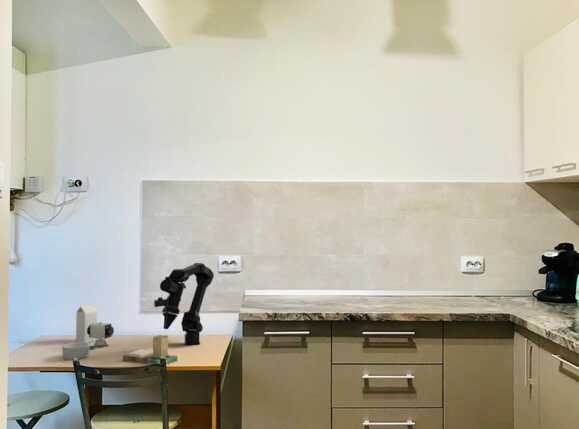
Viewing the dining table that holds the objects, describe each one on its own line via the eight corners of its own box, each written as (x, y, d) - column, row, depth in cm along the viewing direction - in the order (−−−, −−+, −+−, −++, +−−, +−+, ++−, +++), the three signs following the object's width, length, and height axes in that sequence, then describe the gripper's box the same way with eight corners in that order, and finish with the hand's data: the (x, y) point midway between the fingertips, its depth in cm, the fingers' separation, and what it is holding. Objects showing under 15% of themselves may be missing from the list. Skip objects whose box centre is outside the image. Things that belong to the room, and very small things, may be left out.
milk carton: (97, 340, 248) (97, 303, 248) (84, 343, 242) (85, 305, 242) (88, 339, 251) (88, 302, 252) (75, 341, 245) (76, 304, 246)
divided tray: (177, 360, 211) (177, 353, 211) (164, 366, 202) (164, 358, 202) (136, 355, 219) (136, 348, 219) (122, 360, 211) (122, 353, 211)
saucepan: (103, 360, 211) (103, 347, 211) (56, 361, 210) (57, 348, 211) (112, 353, 222) (112, 341, 223) (68, 354, 222) (68, 341, 222)
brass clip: (159, 360, 211) (159, 334, 212) (167, 361, 210) (167, 335, 210) (152, 362, 207) (153, 336, 208) (161, 363, 206) (161, 337, 206)
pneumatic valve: (108, 348, 231) (108, 323, 232) (86, 347, 234) (86, 322, 234) (114, 345, 237) (115, 321, 237) (93, 344, 239) (93, 320, 239)
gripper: (156, 292, 234) (146, 324, 229) (159, 290, 217) (149, 324, 212) (179, 298, 237) (170, 330, 232) (184, 296, 220) (174, 330, 215)
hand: (165, 329), depth 223 cm, fingers open, 9 cm apart
